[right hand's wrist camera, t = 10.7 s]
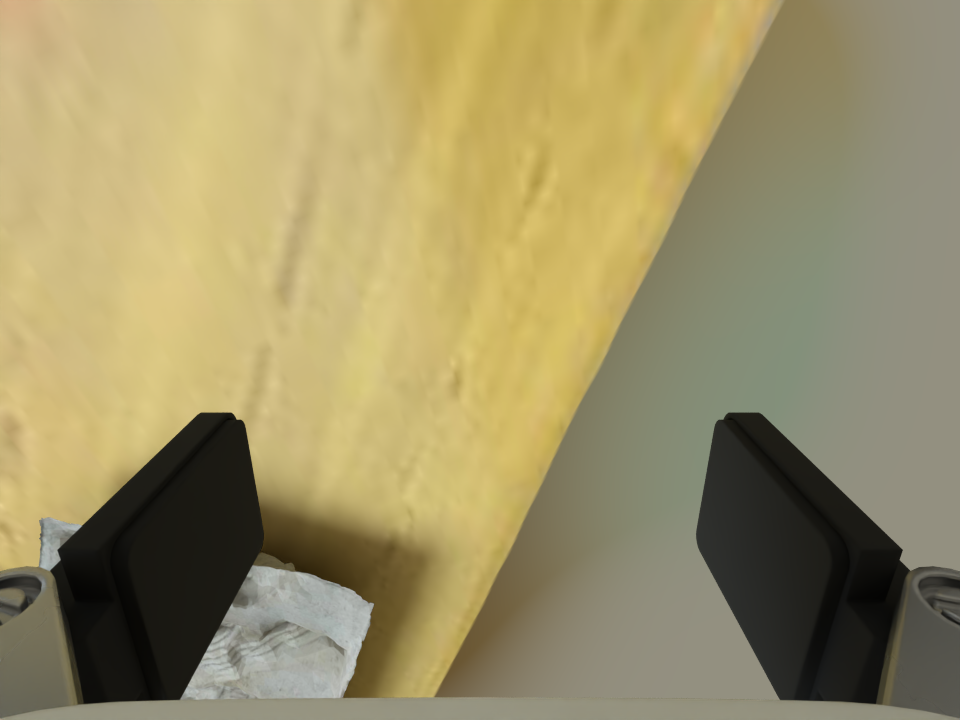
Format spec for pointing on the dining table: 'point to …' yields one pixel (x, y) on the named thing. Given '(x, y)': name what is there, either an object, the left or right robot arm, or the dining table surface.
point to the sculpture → (269, 632)
